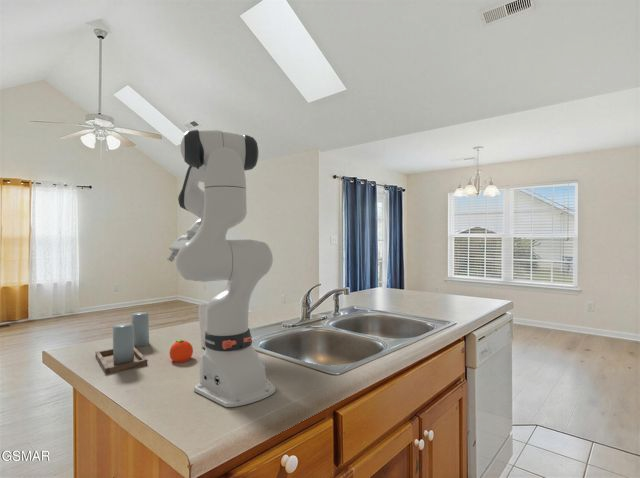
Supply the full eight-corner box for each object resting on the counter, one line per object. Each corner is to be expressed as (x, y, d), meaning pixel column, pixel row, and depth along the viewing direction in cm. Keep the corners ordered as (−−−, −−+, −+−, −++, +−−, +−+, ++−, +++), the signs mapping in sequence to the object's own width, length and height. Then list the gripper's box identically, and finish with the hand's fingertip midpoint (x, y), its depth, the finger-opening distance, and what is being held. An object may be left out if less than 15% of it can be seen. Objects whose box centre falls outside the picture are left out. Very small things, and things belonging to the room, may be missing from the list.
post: (150, 347, 130) (150, 313, 129) (134, 350, 126) (133, 316, 126) (146, 343, 134) (146, 311, 134) (130, 346, 131) (129, 313, 130)
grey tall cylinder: (136, 365, 109) (135, 325, 109) (115, 369, 106) (114, 329, 106) (131, 360, 114) (131, 322, 113) (111, 364, 110) (111, 325, 110)
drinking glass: (221, 343, 133) (221, 303, 132) (214, 350, 126) (214, 307, 126) (204, 343, 133) (203, 303, 133) (196, 349, 127) (195, 307, 126)
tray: (147, 368, 110) (147, 359, 110) (105, 377, 103) (105, 368, 103) (132, 352, 124) (132, 344, 124) (95, 359, 117) (95, 351, 117)
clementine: (164, 361, 115) (164, 339, 115) (185, 356, 120) (185, 335, 120) (175, 368, 109) (175, 345, 109) (197, 362, 114) (196, 340, 114)
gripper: (179, 229, 148) (156, 254, 141) (207, 229, 135) (183, 257, 128) (189, 239, 152) (167, 264, 145) (217, 241, 139) (195, 268, 132)
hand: (175, 261), depth 136 cm, fingers open, 8 cm apart
